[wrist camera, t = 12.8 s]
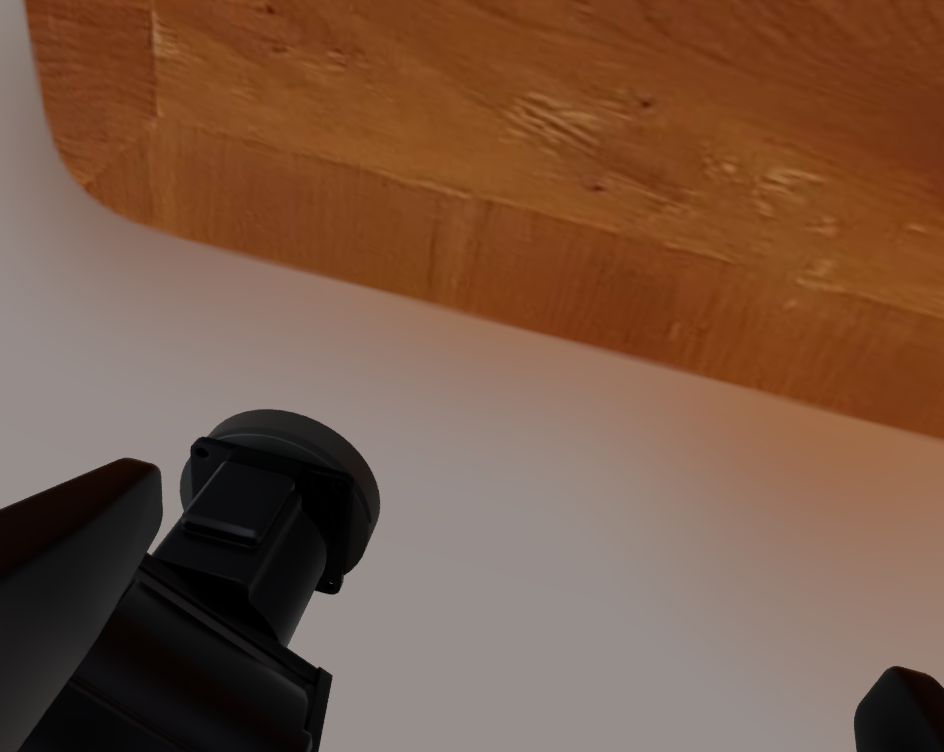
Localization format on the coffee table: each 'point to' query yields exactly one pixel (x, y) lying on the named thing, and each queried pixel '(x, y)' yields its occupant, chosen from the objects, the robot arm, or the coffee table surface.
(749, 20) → the coffee table surface
